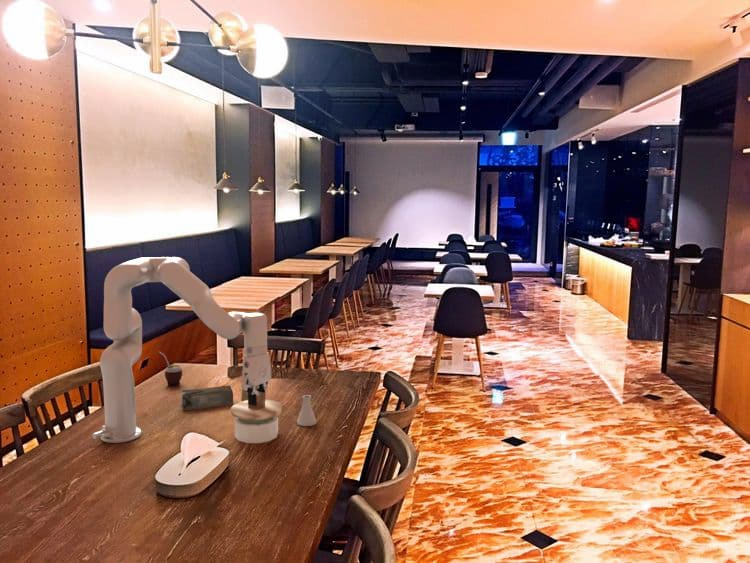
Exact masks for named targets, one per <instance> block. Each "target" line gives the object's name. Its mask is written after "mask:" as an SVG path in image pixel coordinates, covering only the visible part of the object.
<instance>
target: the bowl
mask: <svg viewBox="0 0 750 563" xmlns="http://www.w3.org/2000/svg"><path fill="white" fill-rule="evenodd" d="M278 435H279V415H277V416H275V417H272V418H267V419H261V420H245V419H239V418H236V417H234V438H235V439H236V441H238V442H242V443H245V444H261V443H268V442H271V441H272V440H275V439H276V438H278Z"/></svg>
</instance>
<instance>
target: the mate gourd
mask: <svg viewBox="0 0 750 563" xmlns="http://www.w3.org/2000/svg"><path fill="white" fill-rule="evenodd" d="M158 353H159V354H160V355H162V356H163V358H164V359H165V362H166V363H167V366H166V369H165V370H164V378H165V380H166V383H167V388H170V386H171V387H177V386H179V387H180V384H181V380H182V376H183V370H182V367H181V366H180V365H177V364H175V365H171V364H170V363H169V361H168V359H167V356H166V355H165V354H164V352H163V353H162V352H161V351H158ZM173 385H174V386H173Z"/></svg>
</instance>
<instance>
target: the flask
mask: <svg viewBox="0 0 750 563" xmlns="http://www.w3.org/2000/svg"><path fill="white" fill-rule="evenodd" d="M311 399H312V395H309V394H304V395H302V405H301V406H302V407H301V409H300V412H299V414H298V418H297V421H296V425H298V426H300V427H312V426H314V425H316V424H317V420H316V417H315V414H314V411H313V408H312V404H311Z"/></svg>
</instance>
